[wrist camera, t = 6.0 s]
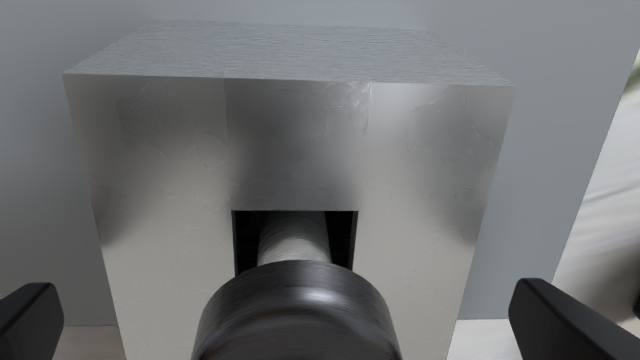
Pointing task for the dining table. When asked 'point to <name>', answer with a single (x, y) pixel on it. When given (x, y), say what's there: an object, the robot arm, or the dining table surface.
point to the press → (285, 164)
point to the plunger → (295, 297)
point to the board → (324, 10)
